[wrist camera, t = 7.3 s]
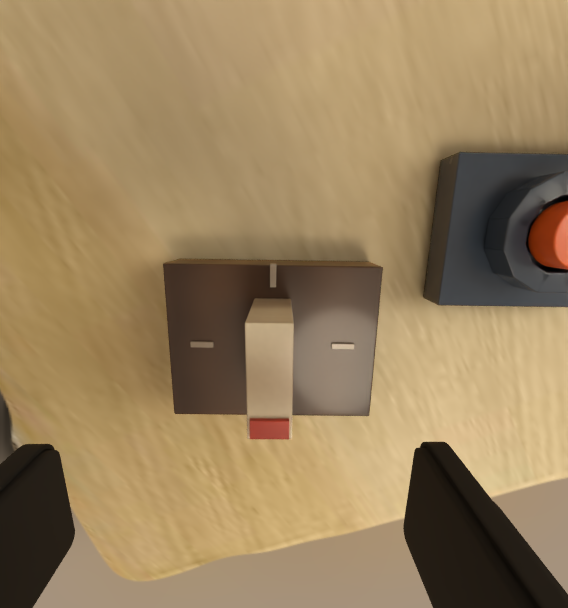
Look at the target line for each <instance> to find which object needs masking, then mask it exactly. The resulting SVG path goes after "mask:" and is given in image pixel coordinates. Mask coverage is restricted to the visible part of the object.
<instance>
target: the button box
mask: <svg viewBox="0 0 568 608" xmlns="http://www.w3.org/2000/svg"><path fill="white" fill-rule="evenodd" d="M563 201H568V154H536V153H483V152H459V153H457V154H454V155H452V156H450V157H447V158H445V159H443V160H441V163H440V171H439V179H438V187H437V195H436V203H435V211H434V219H433V227H432V235H431V243H430V250H429V258H428V266H427V274H426V282H425V290H424V298H425V299H427V300H429V301H431V302H433V303H435V304H437V305H459V306H528V307H568V270H567V269H560V268H553V267H548V266H544V265H542V264H540V263H539V262H538V261H536V260H535V258H534V257H533V256H532V254H531V252H530V249H529V245H528V237H529V232H530V229H531V226H532V224H533V223H534V221H535V219H536V218H537V217H538V216H539V214H541V213H542V212H543V211H544V210H545V209H546V208H548V207H550V206H551V205H554V204H556V203H559V202H563Z"/></svg>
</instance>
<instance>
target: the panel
mask: <svg viewBox="0 0 568 608" xmlns="http://www.w3.org/2000/svg"><path fill="white" fill-rule="evenodd" d="M163 268H164V281H165V294H166V307H167V321H168V334H169V347H170V360H171V373H172V386H173V399H174V412H175V414H237V415H247V400H246V358H245V322H246V319H247V317H248V314H249V311H250V309H251V306H252V304H253V301H254V299H255V298H259V299H291V305H292V313H293V321H294V344H293V407H292V415H329V416H369V411H370V400H371V390H372V379H373V368H374V357H375V346H376V335H377V324H378V313H379V302H380V292H381V281H382V270H383V268H382V267H381V266H378V265H376V264H373V263H371V262H360V261H297V260H233V259H177V260H174V261H170V262H167V263H164V264H163Z"/></svg>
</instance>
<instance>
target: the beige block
mask: <svg viewBox="0 0 568 608" xmlns="http://www.w3.org/2000/svg"><path fill="white" fill-rule="evenodd" d="M293 344H294V321H293V313H292V305H291V299H259V298H255V299H254V301H253V304H252V306H251V309H250V311H249V314H248V317H247V319H246V322H245V358H246V400H247V438H248V439H292V407H293Z"/></svg>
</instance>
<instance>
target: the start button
mask: <svg viewBox="0 0 568 608" xmlns="http://www.w3.org/2000/svg"><path fill="white" fill-rule="evenodd" d="M528 245H529V249H530V252H531V254H532V256H533V257H534V258H535V260H536V261H538V262H539V263H540V264H542V265H544V266H548V267H553V268H560V269H567V270H568V201H563V202H559V203H556V204H554V205H551V206H550V207H548V208H546V209H545V210H544V211H543V212H542V213H541V214H539V216H538V217H537V218H536V219H535V221H534V223H533V224H532V226H531V229H530V232H529V237H528Z"/></svg>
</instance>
